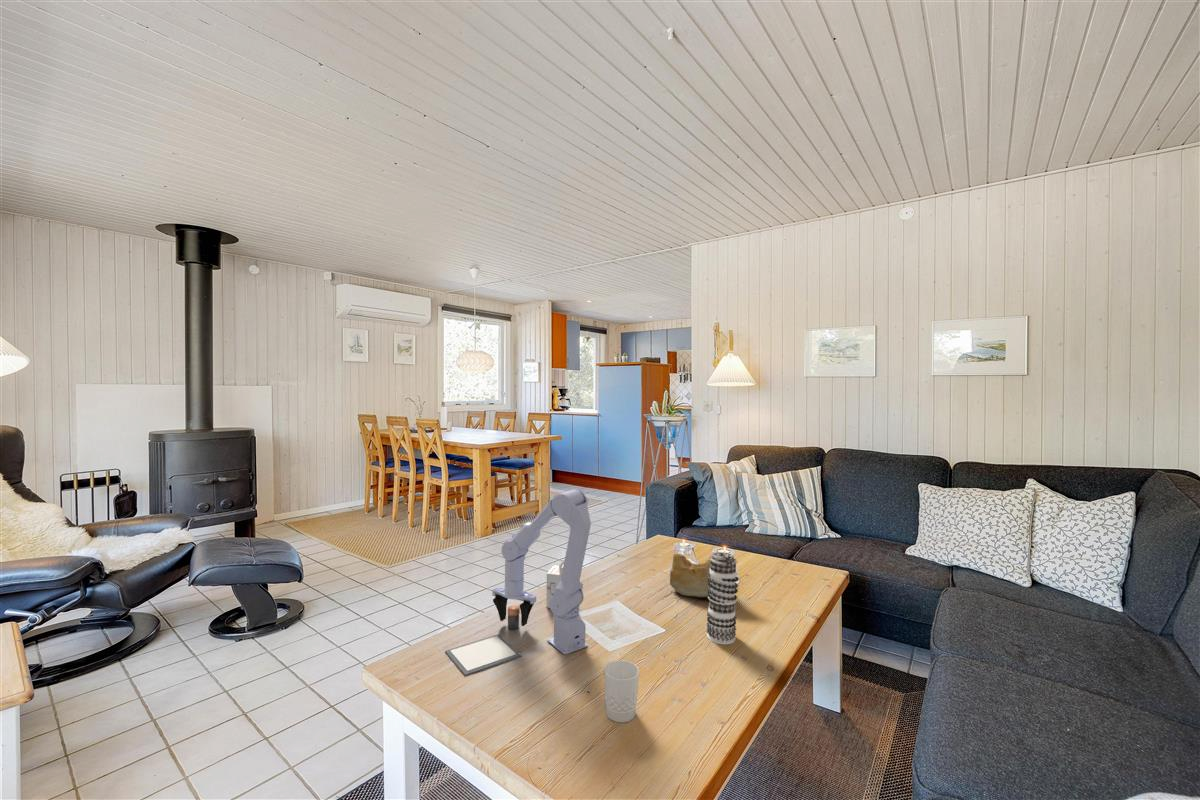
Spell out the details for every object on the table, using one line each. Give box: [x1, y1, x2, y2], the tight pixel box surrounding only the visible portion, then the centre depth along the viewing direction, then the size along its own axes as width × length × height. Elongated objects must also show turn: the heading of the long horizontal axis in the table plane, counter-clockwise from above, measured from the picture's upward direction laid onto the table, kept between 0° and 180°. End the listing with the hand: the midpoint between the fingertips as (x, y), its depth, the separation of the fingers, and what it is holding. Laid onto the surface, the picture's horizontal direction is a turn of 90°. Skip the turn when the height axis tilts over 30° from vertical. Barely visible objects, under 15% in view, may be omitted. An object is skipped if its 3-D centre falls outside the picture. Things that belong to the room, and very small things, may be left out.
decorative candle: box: [706, 551, 739, 645], centre depth 148 cm, size 9×9×25 cm
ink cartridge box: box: [546, 558, 565, 609], centre depth 169 cm, size 9×5×15 cm, turn 168°
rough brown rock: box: [669, 553, 711, 598], centre depth 180 cm, size 23×17×15 cm
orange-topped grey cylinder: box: [507, 605, 521, 631], centre depth 151 cm, size 4×4×6 cm
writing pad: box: [444, 634, 522, 677], centre depth 135 cm, size 14×16×1 cm
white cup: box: [603, 659, 640, 723], centre depth 112 cm, size 8×8×10 cm
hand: (513, 622), depth 151 cm, fingers open, 7 cm apart
